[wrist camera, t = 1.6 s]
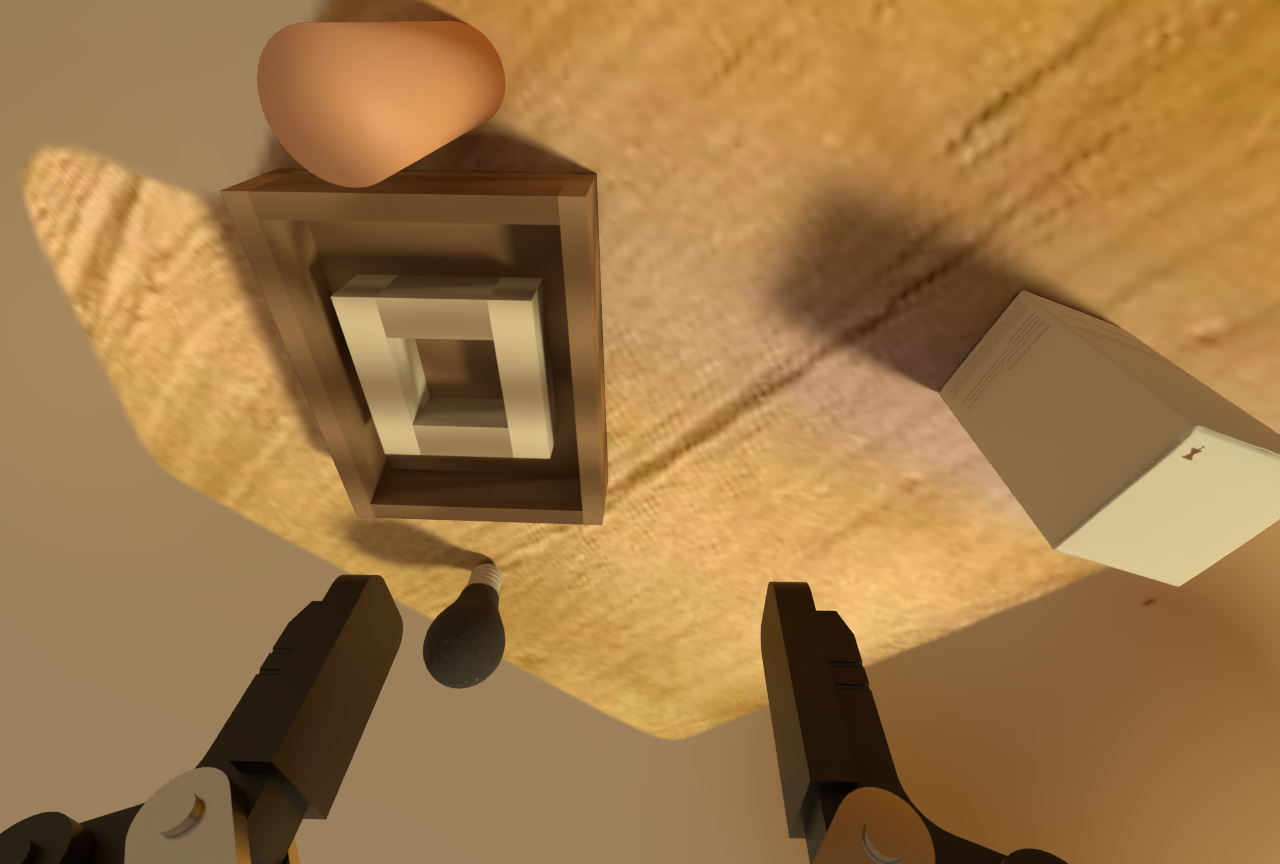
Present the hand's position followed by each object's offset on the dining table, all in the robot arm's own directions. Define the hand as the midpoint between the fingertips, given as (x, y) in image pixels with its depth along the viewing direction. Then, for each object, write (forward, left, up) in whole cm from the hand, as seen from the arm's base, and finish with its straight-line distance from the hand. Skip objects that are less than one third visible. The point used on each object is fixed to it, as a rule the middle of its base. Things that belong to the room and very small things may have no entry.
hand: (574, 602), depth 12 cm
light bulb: (+26, -12, -22) cm, 37 cm away
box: (+6, -10, -22) cm, 25 cm away
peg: (-8, -8, -22) cm, 25 cm away
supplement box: (+6, +23, -22) cm, 33 cm away
